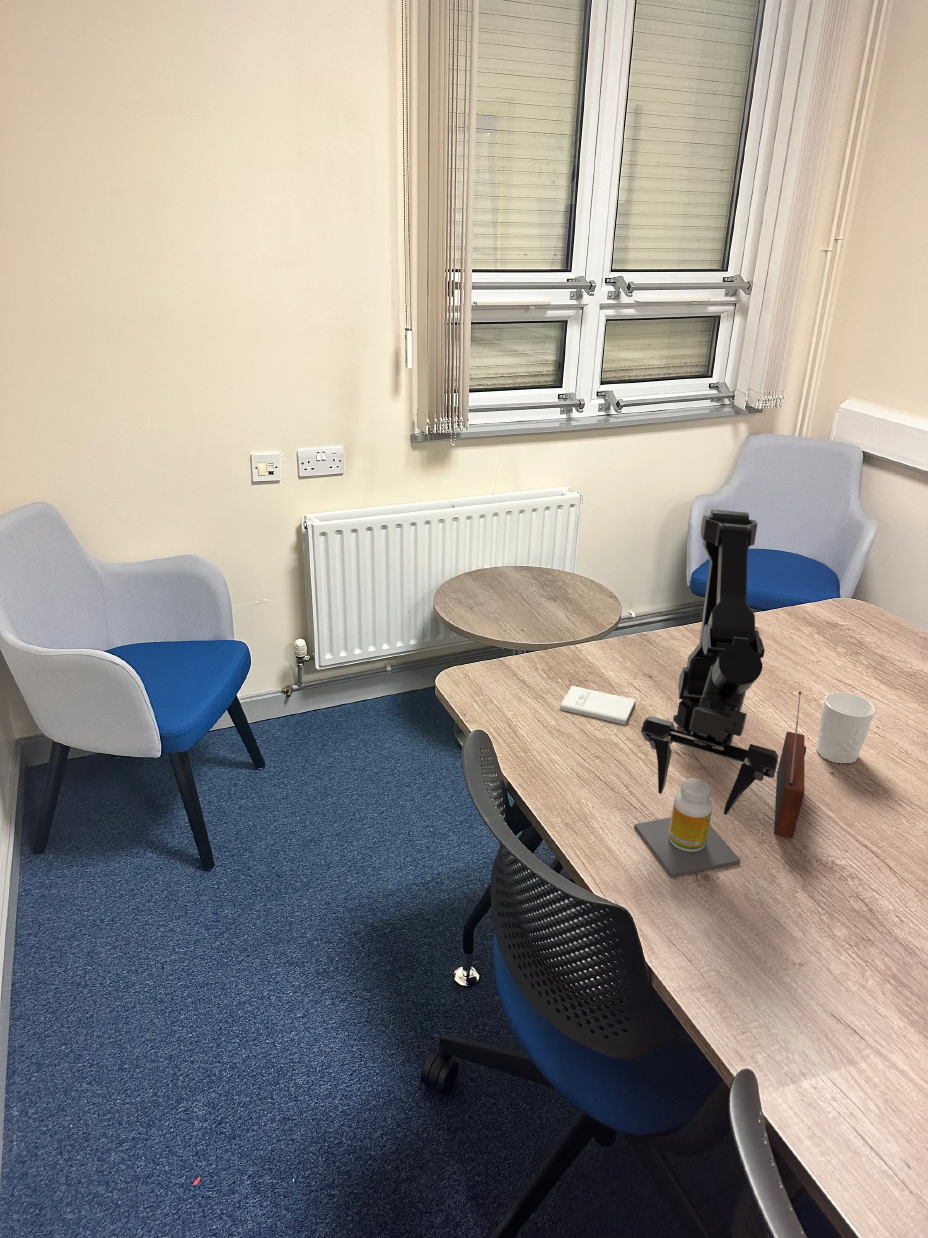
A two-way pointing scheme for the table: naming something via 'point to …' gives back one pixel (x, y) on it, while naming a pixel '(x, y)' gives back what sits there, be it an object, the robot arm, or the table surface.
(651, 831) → the coaster mat
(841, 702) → the white cup
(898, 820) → the table surface
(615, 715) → the external hard drive
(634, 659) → the table surface
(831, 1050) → the table surface
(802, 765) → the radio
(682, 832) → the supplement bottle
